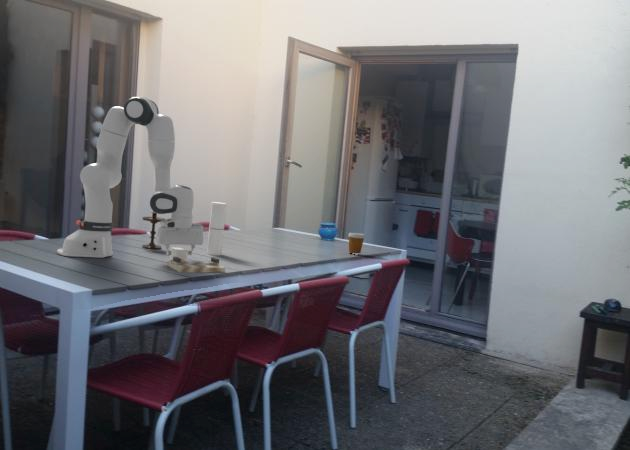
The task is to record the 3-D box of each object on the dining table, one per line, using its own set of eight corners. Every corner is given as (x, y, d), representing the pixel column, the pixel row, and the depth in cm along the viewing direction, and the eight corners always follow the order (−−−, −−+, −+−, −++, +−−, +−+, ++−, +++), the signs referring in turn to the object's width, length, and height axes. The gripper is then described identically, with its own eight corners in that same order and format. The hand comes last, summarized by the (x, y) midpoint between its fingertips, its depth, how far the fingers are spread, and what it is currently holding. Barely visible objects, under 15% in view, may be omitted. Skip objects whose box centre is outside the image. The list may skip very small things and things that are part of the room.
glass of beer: (361, 256, 368) (364, 235, 366) (344, 254, 369) (347, 233, 368) (363, 254, 377) (366, 233, 376) (347, 252, 379) (349, 231, 378)
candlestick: (166, 247, 321) (172, 176, 317) (158, 250, 310) (165, 176, 307) (144, 245, 322) (150, 174, 318) (136, 247, 311) (142, 174, 308)
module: (175, 264, 279) (177, 250, 278) (169, 260, 285) (170, 247, 285) (185, 264, 281) (187, 250, 281) (179, 260, 288) (180, 247, 287)
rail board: (179, 272, 261) (180, 260, 260) (166, 265, 272) (167, 254, 272) (224, 272, 272) (225, 261, 272) (210, 265, 283) (211, 255, 283)
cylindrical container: (210, 255, 313) (215, 203, 311) (204, 252, 319) (209, 201, 316) (224, 255, 317) (229, 204, 315) (217, 252, 323) (222, 202, 321)
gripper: (201, 222, 290) (198, 253, 291) (156, 221, 279) (154, 253, 280) (206, 224, 285) (204, 256, 286) (161, 223, 273) (159, 256, 275)
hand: (179, 254), depth 283 cm, fingers open, 8 cm apart
